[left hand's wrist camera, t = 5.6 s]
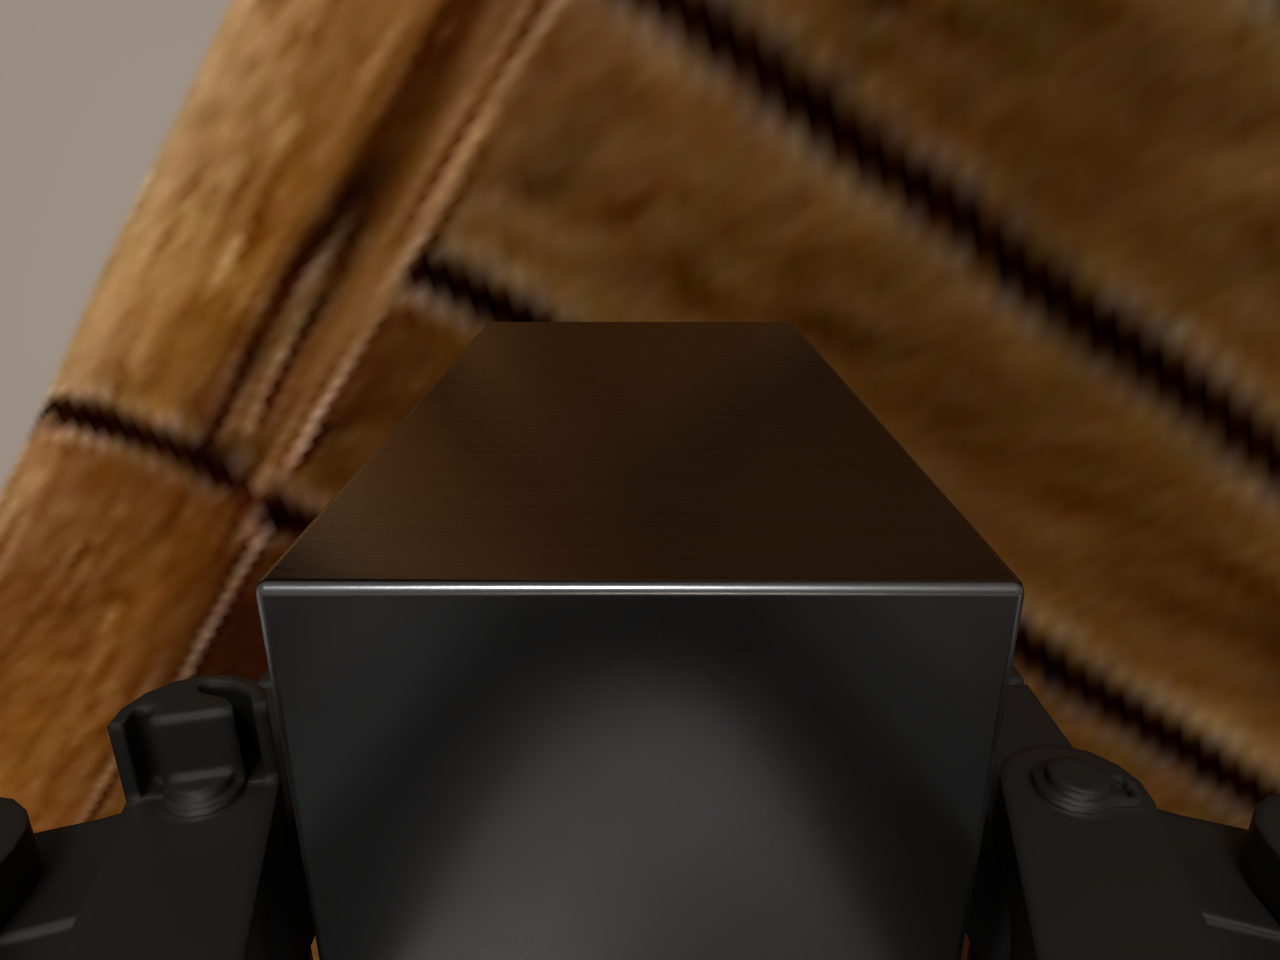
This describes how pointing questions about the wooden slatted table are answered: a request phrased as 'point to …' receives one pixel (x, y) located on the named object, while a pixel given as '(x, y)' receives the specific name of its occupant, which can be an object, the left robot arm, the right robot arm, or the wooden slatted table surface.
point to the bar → (640, 664)
